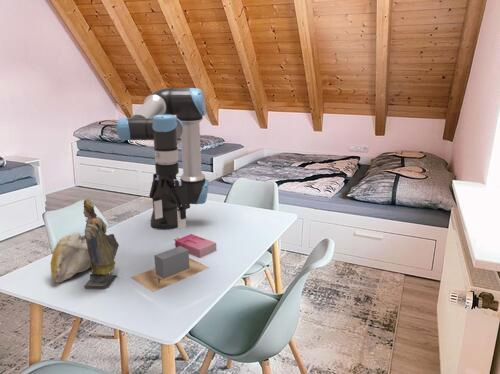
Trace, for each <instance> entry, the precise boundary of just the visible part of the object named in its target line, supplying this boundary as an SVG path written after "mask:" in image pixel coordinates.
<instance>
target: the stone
mask: <svg viewBox="0 0 500 374" xmlns="http://www.w3.org/2000/svg"><path fill="white" fill-rule="evenodd" d="M80 237H82V236H81V233H80V232H74V233H73V234H70V235H65V236H64V237H61V239H59V241H58V242H57V244H56V245H55V247H54V250H53V251H52V254H51V255H52V256H51V260H50V273H51V279H52V280H54V282H55V283H63V282H64V281H65V280H68V279H71V278H72V277H73V276H74V275H76V274H77V273H82V272H85V271H87V270H89V268H92V267H91V260H90V256H89V253H88V248H87V243H86V239H84V240H83V241H82V240H81V239H80Z"/></svg>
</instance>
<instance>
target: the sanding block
mask: <svg viewBox="0 0 500 374" xmlns="http://www.w3.org/2000/svg"><path fill="white" fill-rule="evenodd" d="M189 258H190V254H189V250H188V249H186V248H183V247H181V246H179V247H176V248H175V247H174V248H171V249H168V250H165V251H163V252H160V253H157V254H154V268H155V271H156V277H158V278H160V279H162V280H163V281H165V280H167V279H170V278H172V277H175V276H177V275H180V274H182V273H184V272H187V271H189V270H190V269H189Z"/></svg>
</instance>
